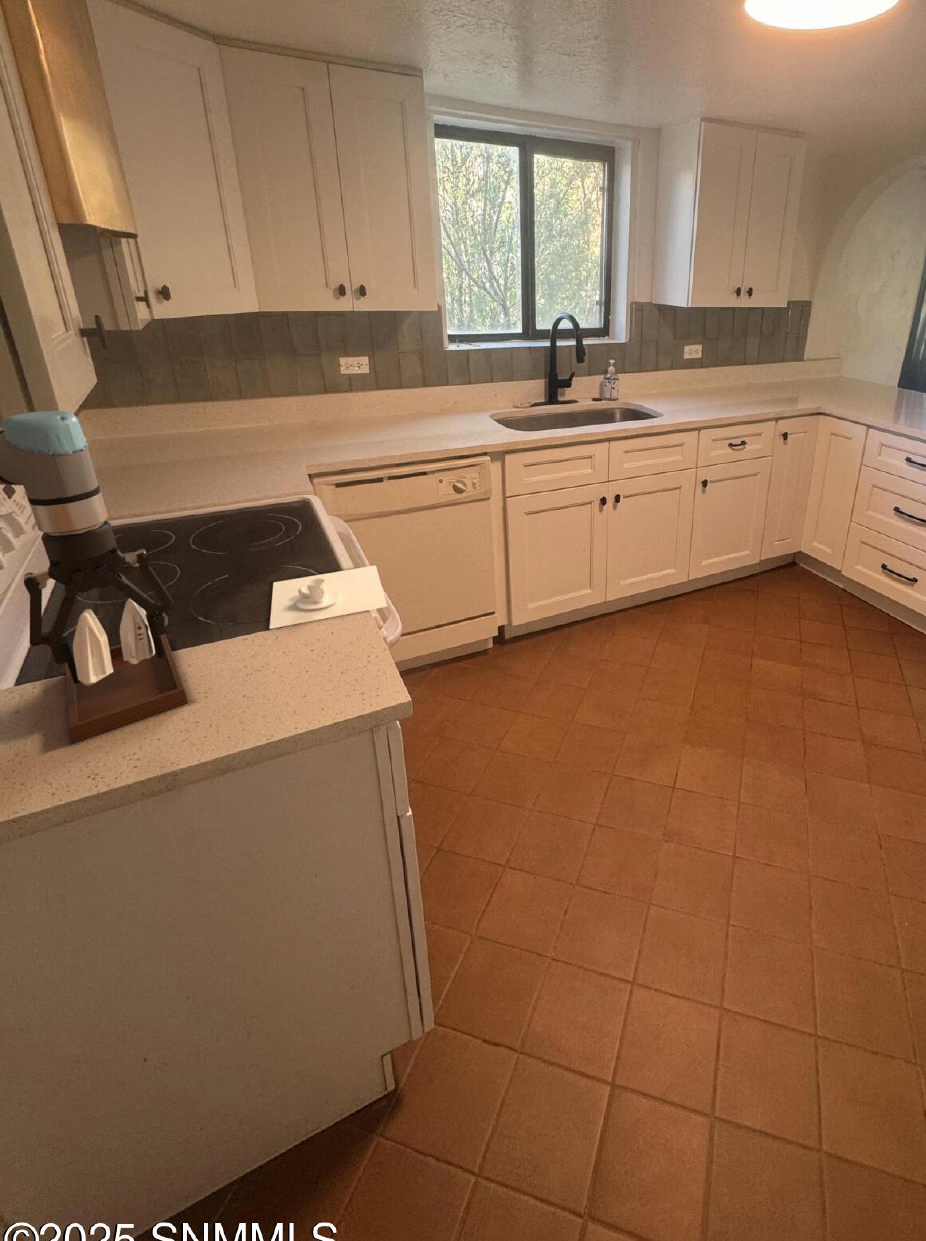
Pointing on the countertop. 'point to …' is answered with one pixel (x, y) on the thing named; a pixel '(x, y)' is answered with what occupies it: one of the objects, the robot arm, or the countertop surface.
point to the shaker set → (95, 647)
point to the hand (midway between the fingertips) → (120, 665)
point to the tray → (124, 693)
